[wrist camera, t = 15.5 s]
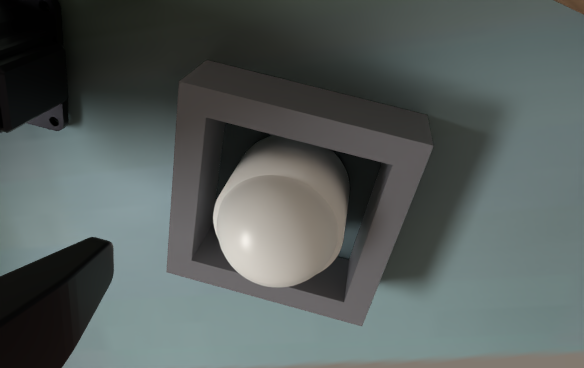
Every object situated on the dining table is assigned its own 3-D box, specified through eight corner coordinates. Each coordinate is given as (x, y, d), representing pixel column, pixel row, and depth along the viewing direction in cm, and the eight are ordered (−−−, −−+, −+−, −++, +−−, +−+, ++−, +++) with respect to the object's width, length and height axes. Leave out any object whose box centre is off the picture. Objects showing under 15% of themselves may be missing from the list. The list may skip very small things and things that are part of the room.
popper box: (189, 234, 26) (166, 272, 23) (206, 60, 20) (179, 81, 18) (364, 282, 25) (362, 326, 22) (427, 114, 20) (433, 145, 17)
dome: (230, 217, 24) (188, 296, 19) (244, 120, 21) (200, 183, 16) (334, 245, 24) (320, 333, 19) (363, 151, 21) (356, 224, 16)
